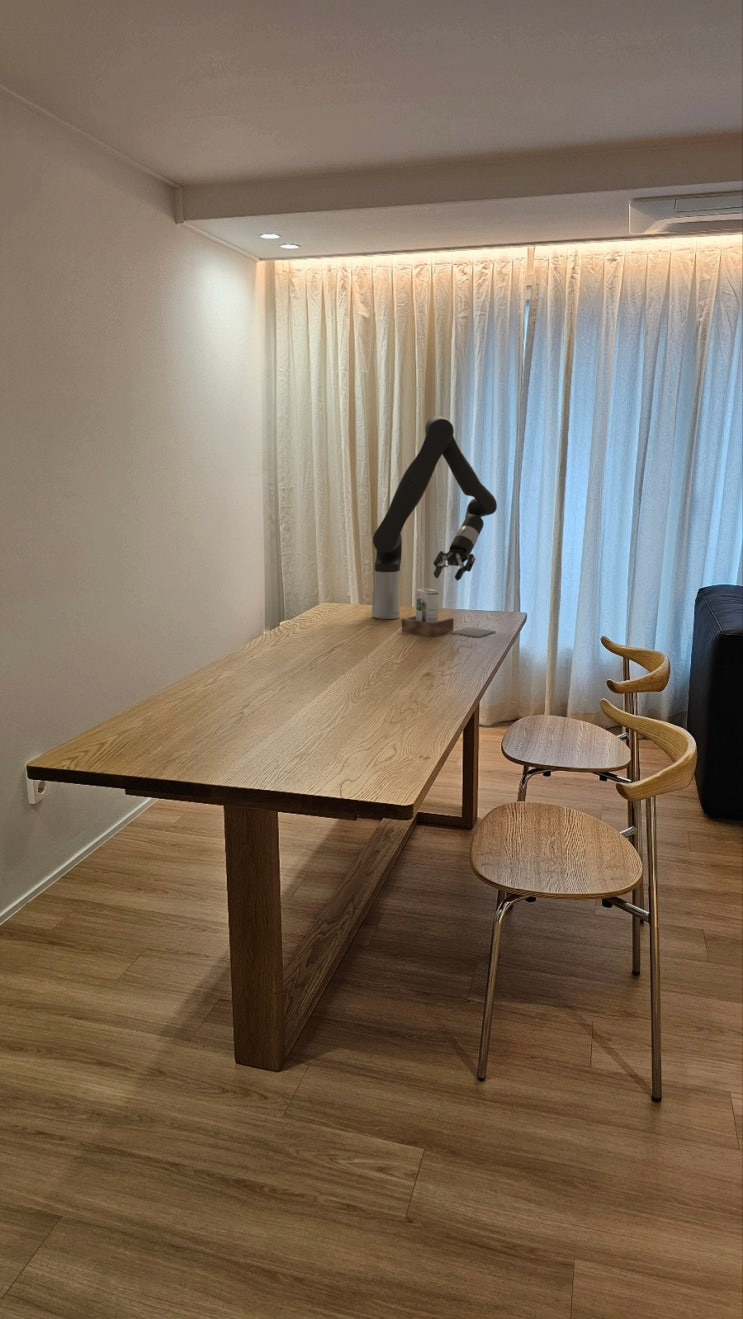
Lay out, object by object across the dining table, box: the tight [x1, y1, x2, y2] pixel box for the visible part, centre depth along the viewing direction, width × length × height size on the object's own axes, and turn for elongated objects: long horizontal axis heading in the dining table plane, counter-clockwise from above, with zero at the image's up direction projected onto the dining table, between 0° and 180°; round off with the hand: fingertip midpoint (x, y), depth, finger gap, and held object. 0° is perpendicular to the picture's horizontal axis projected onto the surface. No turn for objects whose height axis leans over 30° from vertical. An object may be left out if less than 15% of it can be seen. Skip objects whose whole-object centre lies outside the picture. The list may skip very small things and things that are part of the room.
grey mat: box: [450, 626, 497, 639], centre depth 312 cm, size 11×11×1 cm
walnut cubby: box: [401, 615, 454, 638], centre depth 314 cm, size 13×12×4 cm
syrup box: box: [415, 588, 439, 623], centre depth 312 cm, size 6×6×14 cm
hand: (446, 577), depth 319 cm, fingers open, 8 cm apart
